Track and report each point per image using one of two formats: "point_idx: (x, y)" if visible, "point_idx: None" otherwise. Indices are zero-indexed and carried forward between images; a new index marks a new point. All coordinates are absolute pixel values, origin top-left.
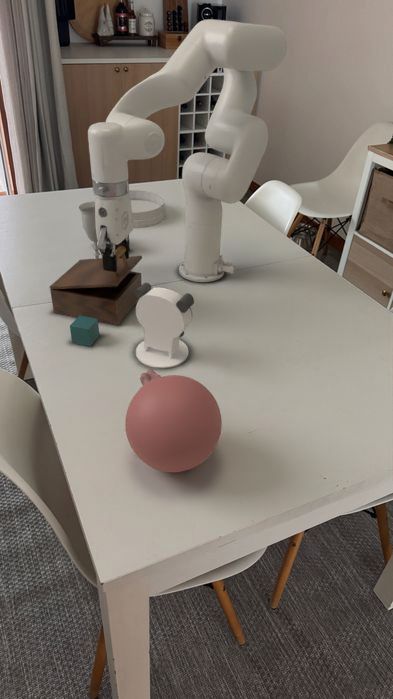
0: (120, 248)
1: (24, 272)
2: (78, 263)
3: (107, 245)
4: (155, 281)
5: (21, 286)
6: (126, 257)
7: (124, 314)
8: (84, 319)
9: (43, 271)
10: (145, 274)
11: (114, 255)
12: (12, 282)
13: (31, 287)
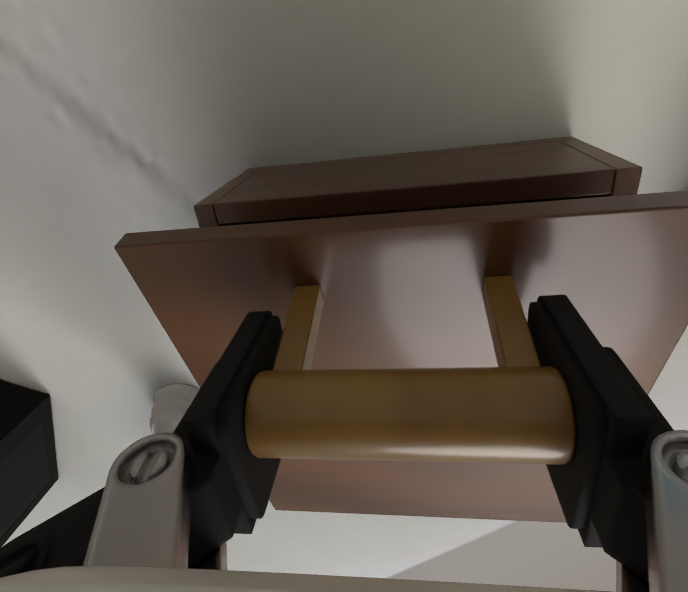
0: (324, 436)
1: (330, 562)
2: (316, 505)
3: (39, 454)
4: (101, 170)
5: (407, 542)
6: (276, 327)
7: (478, 148)
8: None
9: (296, 530)
10: (85, 244)
11: (633, 433)
12: (397, 565)
13: (401, 522)
